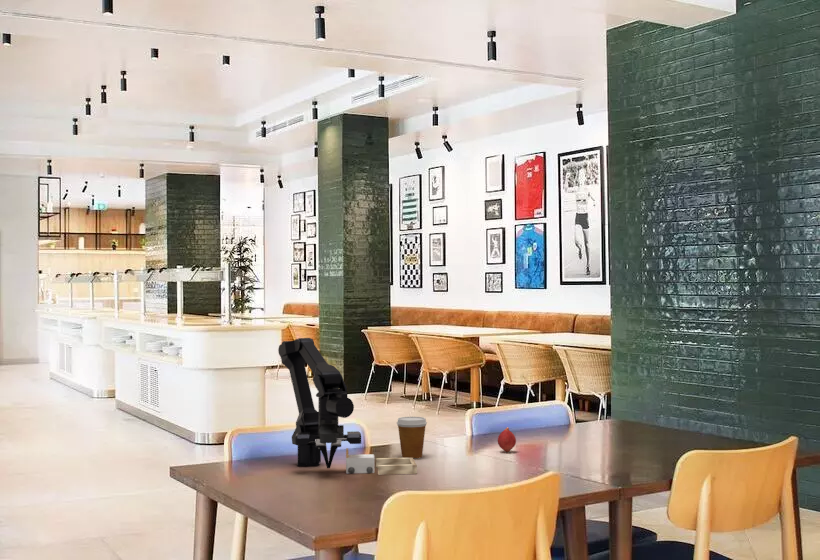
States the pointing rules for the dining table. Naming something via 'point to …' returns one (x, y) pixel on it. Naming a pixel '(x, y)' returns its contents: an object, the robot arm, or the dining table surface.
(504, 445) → the onion
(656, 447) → the dining table surface
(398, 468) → the bay
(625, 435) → the dining table surface
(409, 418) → the disposable coffee cup
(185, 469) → the dining table surface
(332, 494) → the dining table surface
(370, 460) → the trolley
